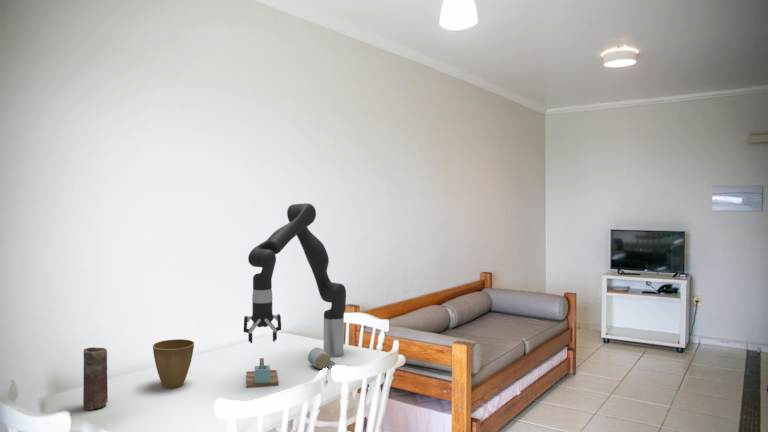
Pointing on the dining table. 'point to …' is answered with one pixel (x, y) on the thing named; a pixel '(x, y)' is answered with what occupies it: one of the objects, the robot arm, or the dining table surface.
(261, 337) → the dining table surface
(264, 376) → the collar block
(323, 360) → the ceramic mug
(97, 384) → the candle
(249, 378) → the pin board
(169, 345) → the plant pot
